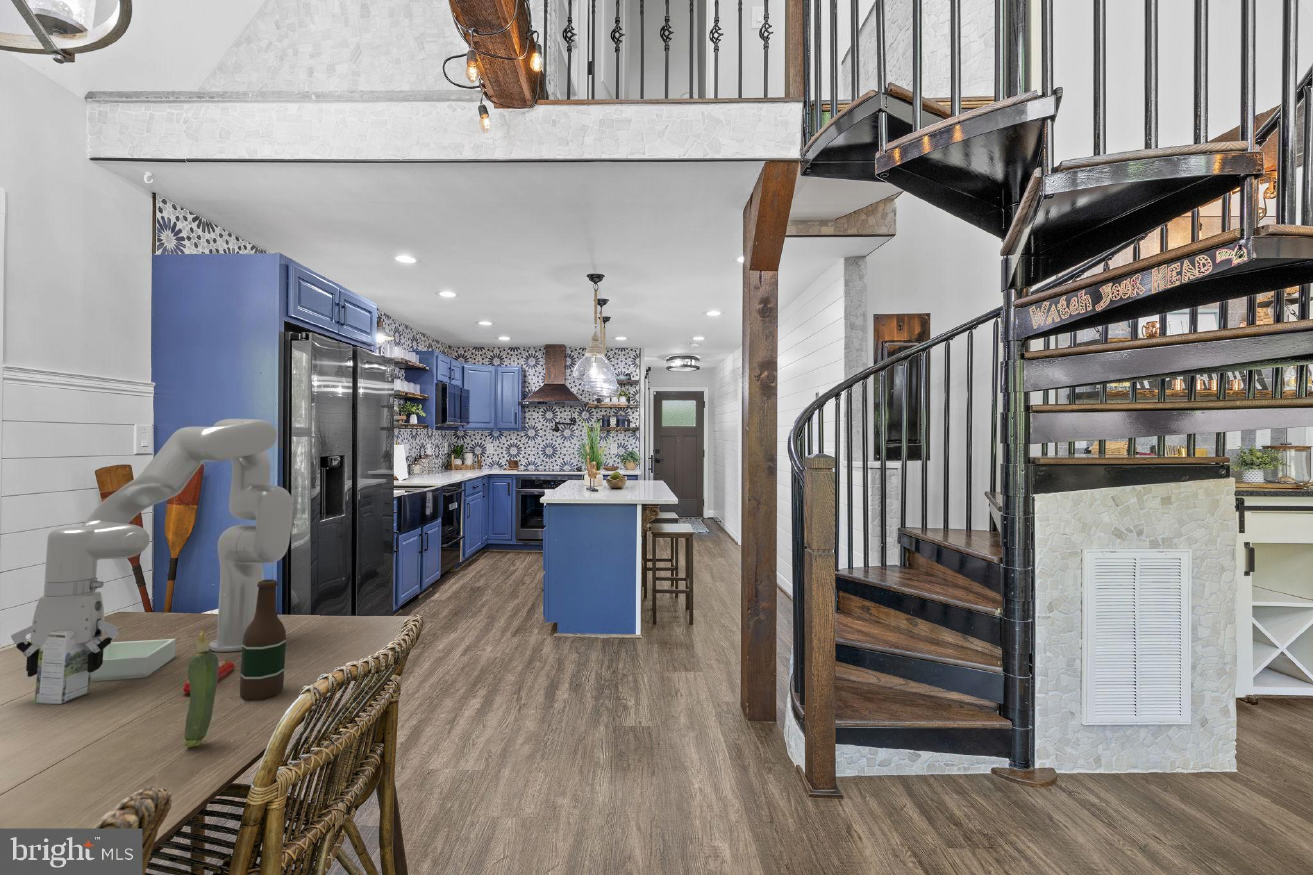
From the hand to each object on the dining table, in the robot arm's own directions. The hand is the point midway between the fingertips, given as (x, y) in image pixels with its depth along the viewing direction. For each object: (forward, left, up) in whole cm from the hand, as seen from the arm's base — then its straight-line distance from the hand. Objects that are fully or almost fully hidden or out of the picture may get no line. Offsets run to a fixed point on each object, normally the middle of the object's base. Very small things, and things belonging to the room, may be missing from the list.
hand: (64, 672), depth 118 cm
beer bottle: (-37, +7, -5) cm, 38 cm away
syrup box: (0, 0, -5) cm, 5 cm away
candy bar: (-24, -3, -6) cm, 25 cm away
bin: (-3, -16, -5) cm, 17 cm away
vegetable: (-34, +29, -5) cm, 45 cm away
